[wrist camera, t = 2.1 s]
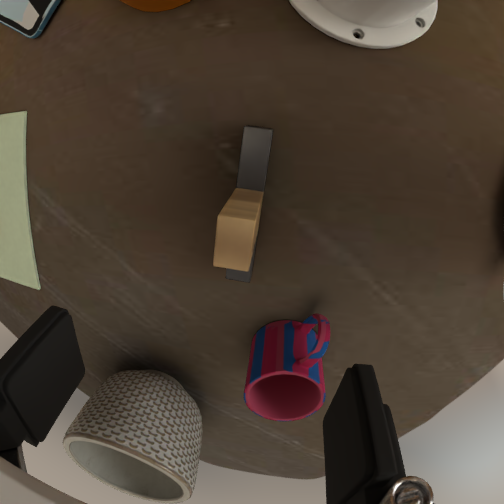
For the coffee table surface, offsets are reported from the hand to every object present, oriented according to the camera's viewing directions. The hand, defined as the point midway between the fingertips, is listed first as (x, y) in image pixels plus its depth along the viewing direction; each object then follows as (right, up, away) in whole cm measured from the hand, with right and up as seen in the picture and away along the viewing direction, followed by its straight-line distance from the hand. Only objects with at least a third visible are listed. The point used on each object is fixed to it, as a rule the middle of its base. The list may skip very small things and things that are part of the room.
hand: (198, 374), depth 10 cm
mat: (-29, +10, +17) cm, 36 cm away
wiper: (+2, +8, +15) cm, 17 cm away
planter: (-10, -13, +25) cm, 30 cm away
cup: (+6, -4, +20) cm, 21 cm away
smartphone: (-22, +31, +7) cm, 39 cm away
